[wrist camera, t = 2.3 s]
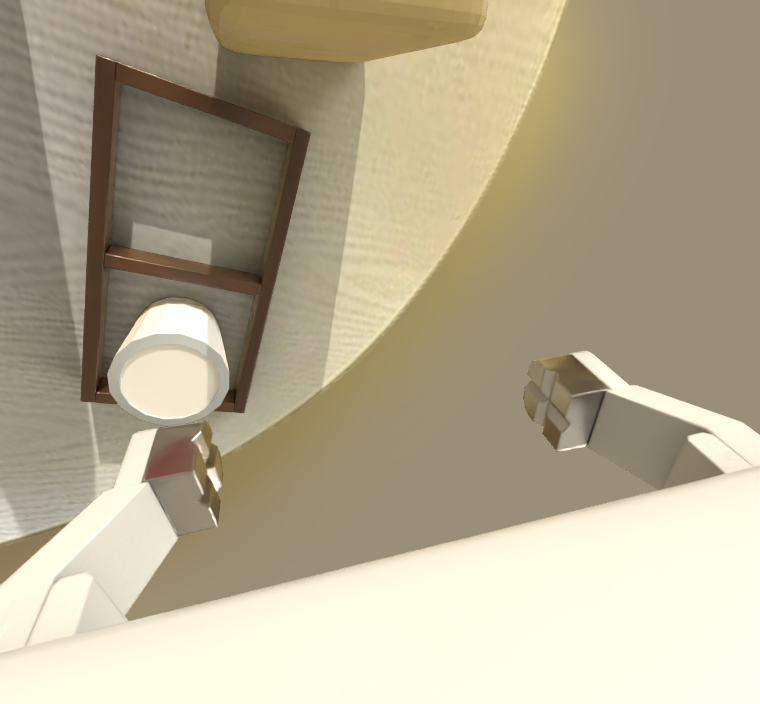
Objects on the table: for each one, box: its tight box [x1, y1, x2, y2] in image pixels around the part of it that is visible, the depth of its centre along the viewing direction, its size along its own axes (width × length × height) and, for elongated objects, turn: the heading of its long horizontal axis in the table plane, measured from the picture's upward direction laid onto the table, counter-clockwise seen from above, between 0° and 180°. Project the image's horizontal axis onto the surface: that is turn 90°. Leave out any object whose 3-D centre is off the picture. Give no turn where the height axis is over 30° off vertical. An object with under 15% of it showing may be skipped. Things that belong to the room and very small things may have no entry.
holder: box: [81, 55, 311, 413], centre depth 29 cm, size 11×22×2 cm, turn 160°
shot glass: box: [107, 297, 229, 425], centre depth 29 cm, size 7×7×7 cm
